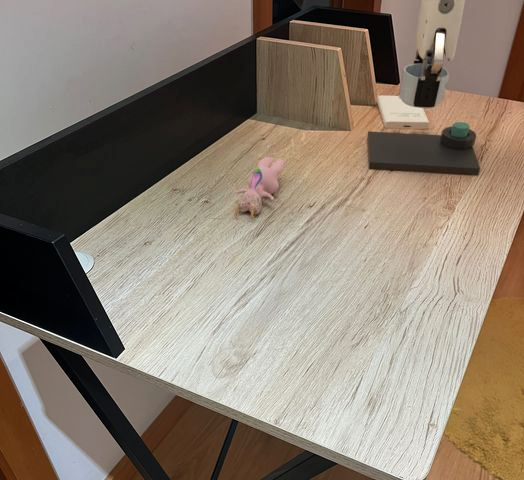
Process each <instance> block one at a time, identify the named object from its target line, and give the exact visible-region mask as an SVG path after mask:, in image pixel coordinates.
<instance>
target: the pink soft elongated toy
mask: <svg viewBox="0 0 524 480" xmlns="http://www.w3.org/2000/svg"><path fill="white" fill-rule="evenodd" d="M274 159H275V157H272V156H264V157H263V158H261V159H260V160H259V162H258V163H257V165H256V168H255V169H254V171H253V173H252V174H251V175H250V177H248V179H247V181H246V185H247V186H248V188H241V189H237V190H235V194H236V195H239V194H241V196H240V198H239V199H238V203H237V205H236V207H235V210H234V213H233V216H235V218H236V219H237V218H238V217H239V218H240V214H239V211H240V212H241V213H246V212H249V213H250V215H249V217H248V219H251V220H252V222H253V221H255V216H254V215H258V214H260V212H261V210H262V207H263V202H262V199H263V198H269V200H270V201H271V202H274V201H275V197H274V196H273V195H272V194H274V193H276V192H277V191H278V189H279V187H280V186H279V181H278V177H279V176H280V175H281V174H282V173H283V170H284V167H285V160H284V159H282V158H280V159H277V160H275V161H274ZM273 161H274V162H273Z"/></svg>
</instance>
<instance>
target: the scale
mask: <svg viewBox="0 0 524 480" xmlns="http://www.w3.org/2000/svg"><path fill="white" fill-rule="evenodd" d="M452 127H453V125H452V126H447V127H445V128H444V129H442V131H441V133H440V134H426V133H423V134H422V133H405V132H391V131H390V132H388V131H373V130H372V131H371V130H368V131H367V134H366V135H367V136H366V146H367V158H368V159H367V162H368V170H373V171H374V170H375V171H390V172H391V171H392V172H407V173H408V172H409V173H424V174H426V173H427V174H442V175H443V174H444V175H458V176H472V177H473V176H476V177H478V176H479V174H480V171H481V166H480V164H479V160H478V157H477V154H476V152H475V149H474V145H475V144H476V141H477V133H476V132H475V131H474V130H472V129H470V128H469V131H468V135H467V137H464V138H461V137H455V136H452V135H451V131H452Z"/></svg>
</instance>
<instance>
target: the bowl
mask: <svg viewBox="0 0 524 480" xmlns="http://www.w3.org/2000/svg"><path fill="white" fill-rule="evenodd" d="M422 64H423V63H417V64H414V63H410V64H407V65H405V66H404V67H403V69H402V74H401V79H400V80H401V81H400V84H399V85H400V86H399V91H398V96H399V98H400V99H401V100H402V102H403V103H405V104H407V105H409V106H412V107H415V106H414V104H413V103H414V98H415V93H416V88H417V83H418V78H421V71H422ZM429 65H431V64H427V67H428V66H429ZM449 78H450V72H449V70H448V69H446V68H445V67H443V66H442V72H441V79H440V85H439V89H438V94H437V98H436V103H435V106H434V107H433V108H436V107H438V105H440V104H442V102H444V99H445V96H446V90H447V86H448V82H449ZM417 108H423V109H430V108H429V107H417Z"/></svg>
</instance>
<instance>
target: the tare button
mask: <svg viewBox="0 0 524 480" xmlns="http://www.w3.org/2000/svg"><path fill="white" fill-rule="evenodd" d="M452 126H453V127H452ZM452 126H451V127H452V131H451V135H452V136H455V137H461V138H464V137H467V135H468V131H469V129H470V126H471V125H470V124H469V123H466V122H463V121H457V122H453V123H452Z"/></svg>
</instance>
